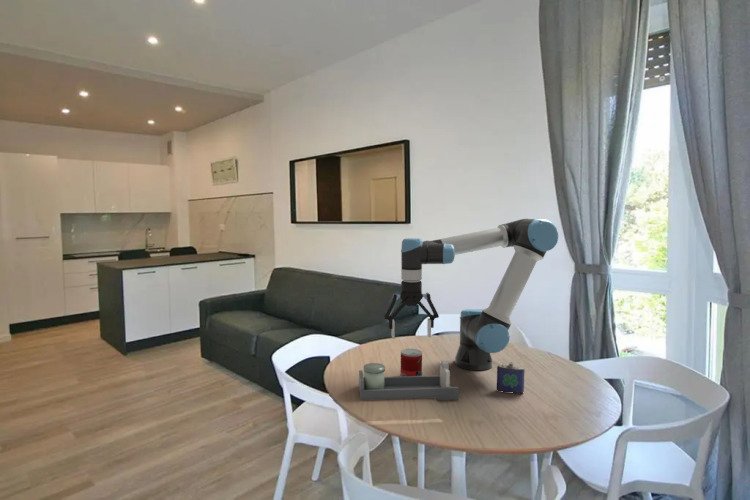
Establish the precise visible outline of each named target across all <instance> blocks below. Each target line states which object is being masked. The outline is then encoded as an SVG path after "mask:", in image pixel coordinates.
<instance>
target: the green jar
mask: <svg viewBox="0 0 750 500" xmlns="http://www.w3.org/2000/svg"><path fill="white" fill-rule="evenodd" d="M385 371H386V366H385V365H384V364H383V363H379V362H370V363H365V364H364V365H363V377H364V390H373V389H384V377H385V374H386V373H385Z"/></svg>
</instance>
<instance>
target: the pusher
mask: <svg viewBox="0 0 750 500" xmlns="http://www.w3.org/2000/svg"><path fill="white" fill-rule="evenodd" d="M449 365H450V363H449V362H448V360H440V362H439V375H440V386H441V387H449V385H451V373H450V372H451V371H450V370H449V369H450V367H449Z"/></svg>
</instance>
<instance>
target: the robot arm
mask: <svg viewBox="0 0 750 500" xmlns="http://www.w3.org/2000/svg"><path fill="white" fill-rule="evenodd" d="M558 240H559V232H558V228H557V226H556V225H555V224H554V223H553V222H552V221H549V220H548V219H543V218H521V219H517V220H514V221H511V222H507V223H502V224H499V225H497V227H495V228H490V229H485V230H480V231H474V232H469V233H464V234H459V235H454V236H449V237H443V238H438V239H434V240H424V241H423V240H422V238H412V237H411V238H403V239H402V241H401V249H400V252H401V254H400V255H401V258H400V259H401V262H400V263H401V267H400V268H401V269H400V270H401V271H400V272H401V276H400V277H401V278H400V279H401V283H400V287H401V291H400V293H399V294H398V293H395V292H393V293H392V298H391V301H390V302H389V305H388V307H387V308H386V310H385V312H384V314H383V318H384V319H385V320H388V329H389V330H391V338H392V339H396V338H395V335H396V333H395V328H396V327H395V326H396V325H395V318H396V317H397V316H398V314H399V313H400V312H401V311H402V310H403V308H404V307H406V306H407V307H410V306H414V307H416V306H419V307H420V308H421V309H422V311H424V313H425V314H426V315H427V316H428V318H427V323H426V324H427V327H426V328H427V331H426V332H427V334H426V335H427V337H428V338H431V337H432V329H433V328H434V324H435V323H434V322H435V319H438V318H439V317H440V315H439V313H438V312H437V309H436V307H435V305H434V303H433V301H432V298H431V294H430V293H429V292H428V291H427V292H426V293H423V292H422V291H423V290H422V289H423V288H422V287H423V286H422V285H423V282H422V279H423V275H422V273H423V272H422V271H423V270H422V269H423V265H445V264H446V265H449V264H452V263H453V262H454V261H455V258H456V257H455V256H456V255H457V256H458V255H462V254H467V253H472V252H477V251H483V250H488V249H493V248H497V247H501V248H510V247H511V248H513V249H514V254H513V256H512V257H511V260H510V262H509V264H508V266H507V268H506V270H505V272H504V274H503V277H502V278H501V280H500V283H499V285H498V287H497V289H496V291H495V293H494V294H493V297H492V300H491V301H490V302H489V306H488V307H487V308H484V309H483V308H469V309H468V308H467V309H462V310H461V311H460V315H459V346H458V349H457V352H456V354H455V357H454V363H455V365H456V366H458V367H459V368H461V369H465V370H470V371H486V370H489V369H491V368H493V358H492V355H491V354H496V353H500V352H501V351H503V350H504V349H505V348H506V347H507V346H508V344H509V343H510V337H511V336H510V332H509V331H510V330H509V329H510V327H511V326H512V322H511V320H510V319H511V318H510V317H511V315H512V313H513V311H514V309H515V307H516V306H517V303H518V302H519V300H520V297H521V294H522V293H523V291H524V289H525V287H526V285H527V282H528V280H529V279H530V276H531V274H532V272H533V271H534V268H535V266H536V264H537V262H538V261H542V260H543V259H544V257H545V255H546V253H547V252H548V251H551V250H553V249H554V248H555V247H556V245H557V244H558ZM423 298H424V299H425V300H426V302H427V303H428V306H429V308H430V310H431V312H432V313H431V312H430V311H429V310H428V308H426V306H425V305H424V304H423V302H421V301H422V299H423ZM399 299H401V301H400V302H399V304H398V305H397V307H396V308H395V309H394V307H395V304H396V302H397V300H399ZM393 309H394V310H393Z"/></svg>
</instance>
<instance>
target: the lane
mask: <svg viewBox="0 0 750 500" xmlns="http://www.w3.org/2000/svg"><path fill="white" fill-rule="evenodd" d="M358 389H359V397H360V401H372V400H373V401H374V400H375V401H377V400H398V399H399V400H401V399H402V400H403V399H404V400H405V399H406V400H407V399H429V398H430V399H432V398H433V399H434V398H435V400H436V401H453V400H458V401H459V397H460V396H459V393H460V391H459V390H460V388H459V387H458V386H452V385H451V384H450V385H449V387H441V386H440V374H439V375H435V374H434V375H422V376H401V375H400V376H384V389H373V390H364V370H362V369H361V370H358Z"/></svg>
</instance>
